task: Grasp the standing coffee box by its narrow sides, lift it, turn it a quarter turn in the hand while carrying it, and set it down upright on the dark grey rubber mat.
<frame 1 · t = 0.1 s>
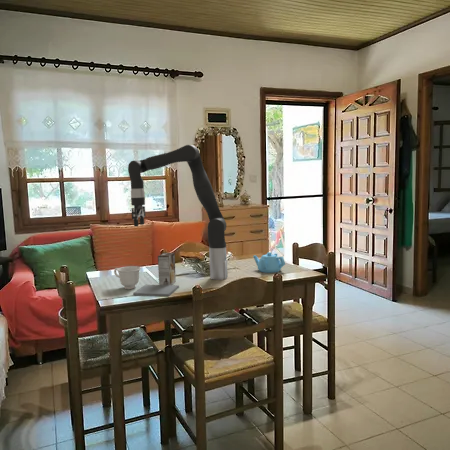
hand: (139, 225, 241), 29 cm above the table, fingers open, 8 cm apart
teacup: (127, 287, 221), on the table
mat: (156, 291, 212), on the table
coffee box: (167, 284, 225), on the table
teapot: (269, 270, 252), on the table
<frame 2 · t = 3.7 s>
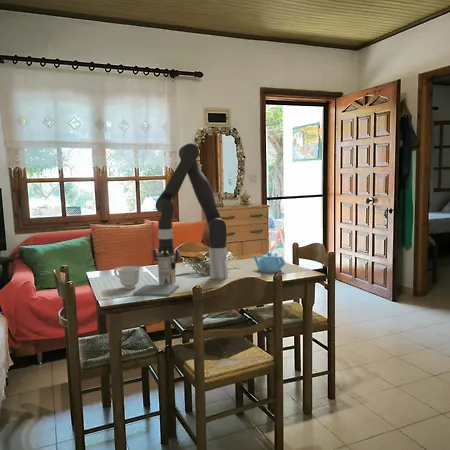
hand: (166, 268, 224), 8 cm above the table, fingers closed on coffee box, 6 cm apart
coffee box: (167, 284, 225), on the table, touching gripper
everything else where it was.
when the fingers open (11 cm above the table, at t = 10.8 s): coffee box drops 1 cm, resting on mat.
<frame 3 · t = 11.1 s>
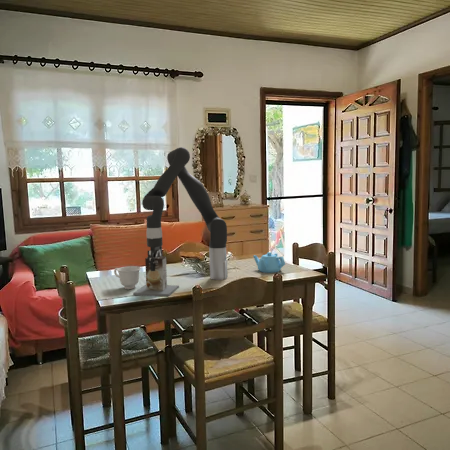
hand: (155, 269, 211), 11 cm above the table, fingers open, 8 cm apart
coffee box: (156, 289, 212), point 1 cm above the table, touching mat
everything else where it was.
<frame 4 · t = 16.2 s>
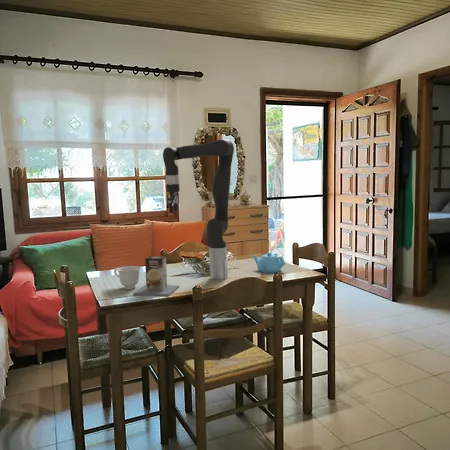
hand: (173, 212, 242), 36 cm above the table, fingers open, 8 cm apart
nothing on the table moved.
at the end: coffee box inside the target area on the mat (0.1 cm from its centre), point 0.8 cm above the mat's base; coffee box tilted 0°; the gripper is holding nothing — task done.
